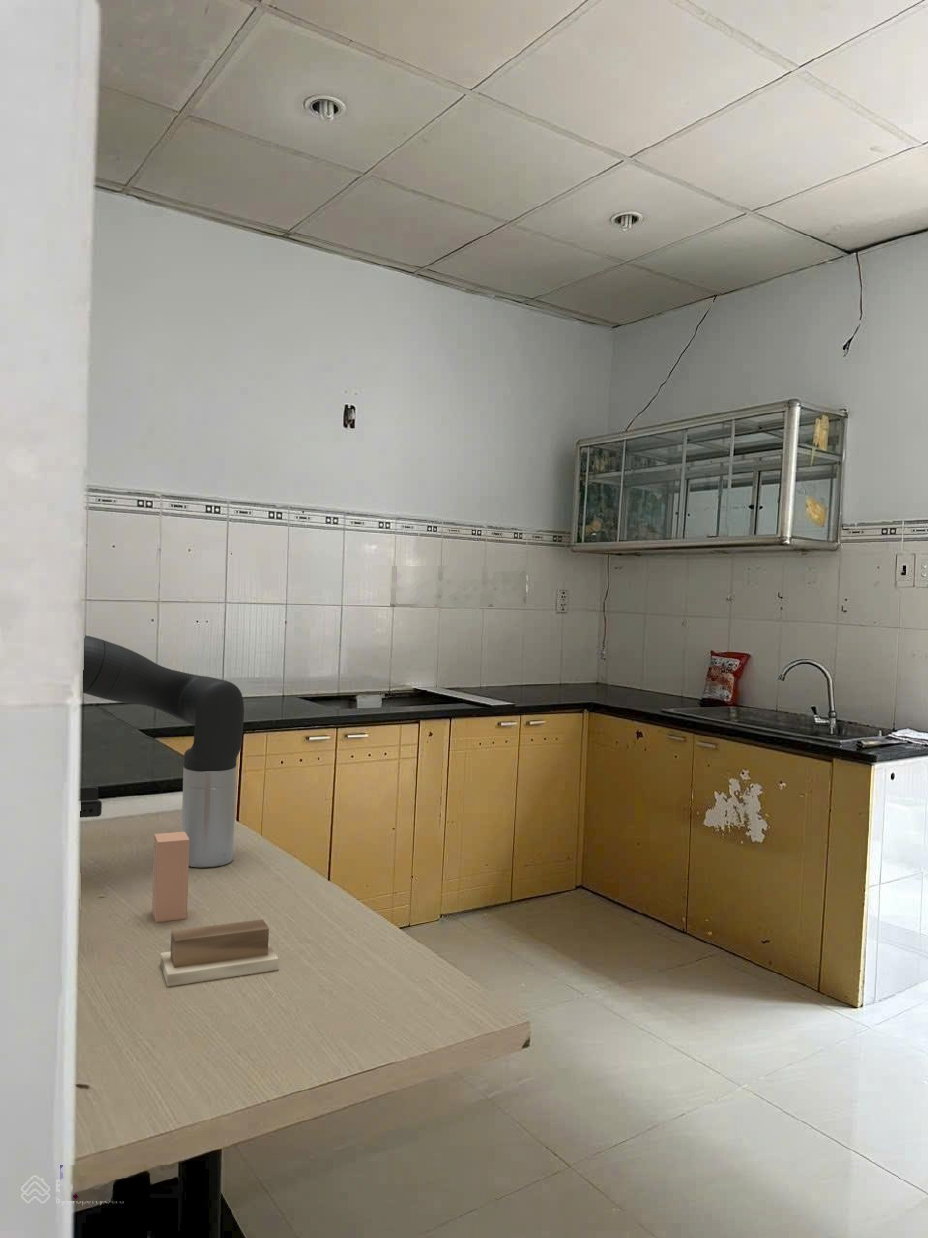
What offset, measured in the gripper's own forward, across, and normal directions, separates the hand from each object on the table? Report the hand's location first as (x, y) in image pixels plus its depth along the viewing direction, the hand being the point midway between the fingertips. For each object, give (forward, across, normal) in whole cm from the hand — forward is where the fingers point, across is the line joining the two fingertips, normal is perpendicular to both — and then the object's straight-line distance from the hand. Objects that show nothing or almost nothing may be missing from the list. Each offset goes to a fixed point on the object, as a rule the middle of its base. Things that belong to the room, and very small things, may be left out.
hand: (99, 801), depth 128 cm
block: (+10, 0, +18) cm, 21 cm away
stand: (+14, -21, +18) cm, 31 cm away
